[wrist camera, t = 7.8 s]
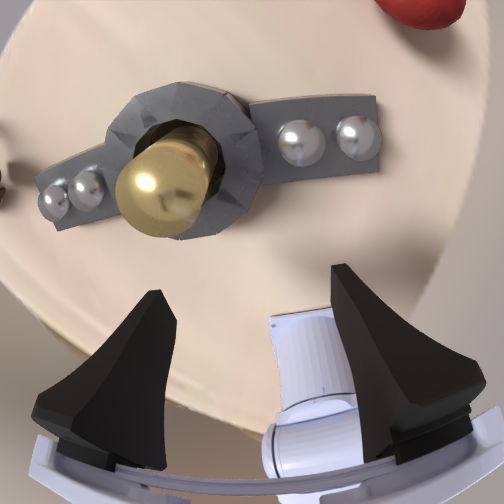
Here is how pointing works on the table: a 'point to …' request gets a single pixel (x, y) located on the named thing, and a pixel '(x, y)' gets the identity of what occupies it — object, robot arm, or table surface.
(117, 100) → the table surface
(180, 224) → the pin
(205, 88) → the studded flange bracket
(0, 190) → the rusty ring shackle
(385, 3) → the onion
